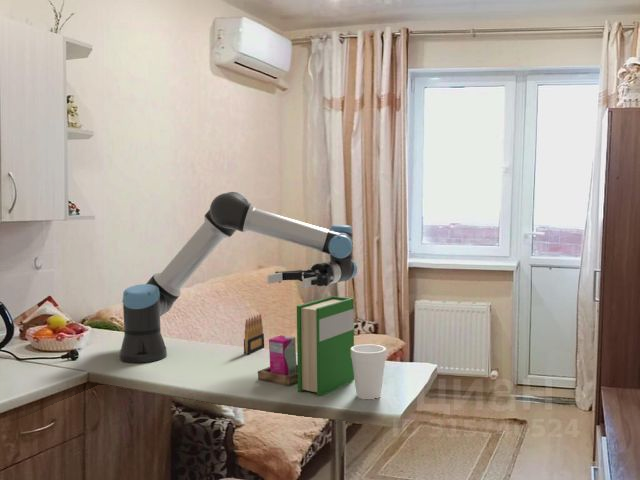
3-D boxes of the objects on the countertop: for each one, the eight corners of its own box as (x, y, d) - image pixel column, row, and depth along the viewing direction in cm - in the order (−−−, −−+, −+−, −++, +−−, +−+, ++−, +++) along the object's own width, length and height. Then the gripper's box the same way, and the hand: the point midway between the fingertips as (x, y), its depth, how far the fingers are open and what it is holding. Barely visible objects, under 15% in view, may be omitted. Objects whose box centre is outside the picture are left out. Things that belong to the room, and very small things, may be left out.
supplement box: (281, 371, 202) (281, 334, 201) (297, 375, 198) (296, 337, 197) (269, 376, 197) (268, 338, 196) (284, 380, 194) (284, 341, 192)
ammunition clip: (248, 355, 224) (247, 319, 223) (243, 354, 224) (242, 319, 223) (264, 347, 233) (263, 313, 232) (259, 347, 234) (259, 313, 233)
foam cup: (356, 389, 186) (355, 343, 185) (388, 391, 183) (388, 345, 182) (347, 400, 177) (347, 352, 176) (382, 403, 174) (381, 354, 173)
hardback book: (320, 396, 180) (319, 308, 178) (297, 391, 184) (296, 305, 182) (354, 379, 195) (353, 298, 193) (332, 375, 199) (332, 296, 197)
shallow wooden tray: (258, 379, 196) (257, 371, 196) (281, 370, 205) (281, 362, 205) (289, 386, 190) (288, 377, 189) (312, 376, 199) (312, 367, 199)
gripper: (356, 288, 216) (319, 298, 199) (294, 281, 230) (254, 289, 213) (357, 265, 215) (319, 273, 198) (294, 259, 229) (254, 265, 212)
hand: (285, 281), depth 205 cm, fingers open, 13 cm apart
